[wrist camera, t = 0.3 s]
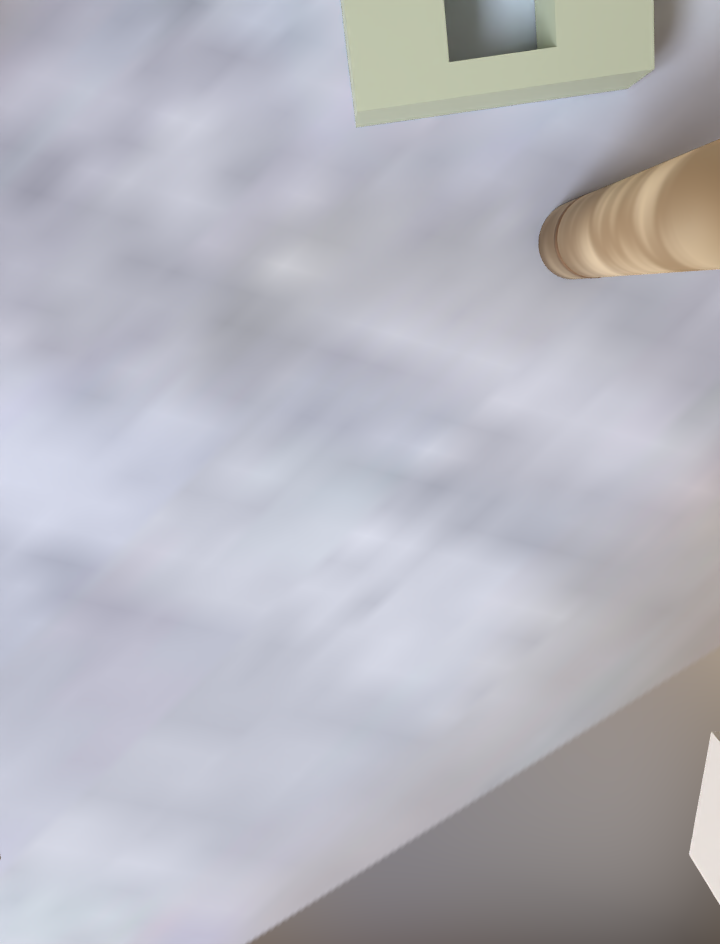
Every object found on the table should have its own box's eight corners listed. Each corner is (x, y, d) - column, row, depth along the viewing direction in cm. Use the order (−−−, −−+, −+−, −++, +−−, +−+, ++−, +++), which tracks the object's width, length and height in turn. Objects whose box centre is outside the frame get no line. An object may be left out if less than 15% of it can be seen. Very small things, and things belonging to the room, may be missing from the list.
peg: (535, 206, 35) (671, 142, 20) (611, 195, 35) (801, 124, 20) (540, 284, 36) (672, 277, 21) (613, 274, 36) (796, 260, 21)
